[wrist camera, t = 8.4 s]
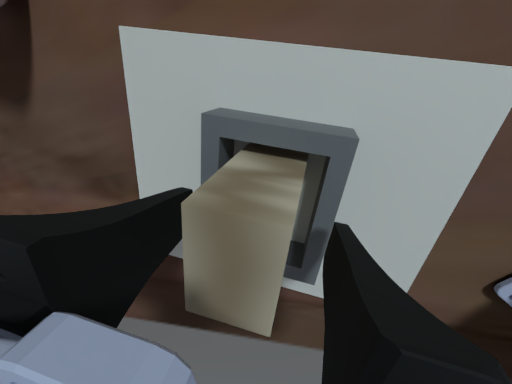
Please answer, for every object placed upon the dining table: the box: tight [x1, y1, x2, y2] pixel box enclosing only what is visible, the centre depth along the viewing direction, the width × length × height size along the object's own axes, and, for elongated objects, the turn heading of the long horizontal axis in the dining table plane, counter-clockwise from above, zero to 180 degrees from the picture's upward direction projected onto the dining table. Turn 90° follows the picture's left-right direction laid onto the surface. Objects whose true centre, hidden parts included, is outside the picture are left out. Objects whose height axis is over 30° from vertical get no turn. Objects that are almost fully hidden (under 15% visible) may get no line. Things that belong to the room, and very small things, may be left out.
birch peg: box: [181, 142, 309, 337], centre depth 12 cm, size 4×5×8 cm
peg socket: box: [119, 26, 512, 298], centre depth 15 cm, size 20×16×3 cm
